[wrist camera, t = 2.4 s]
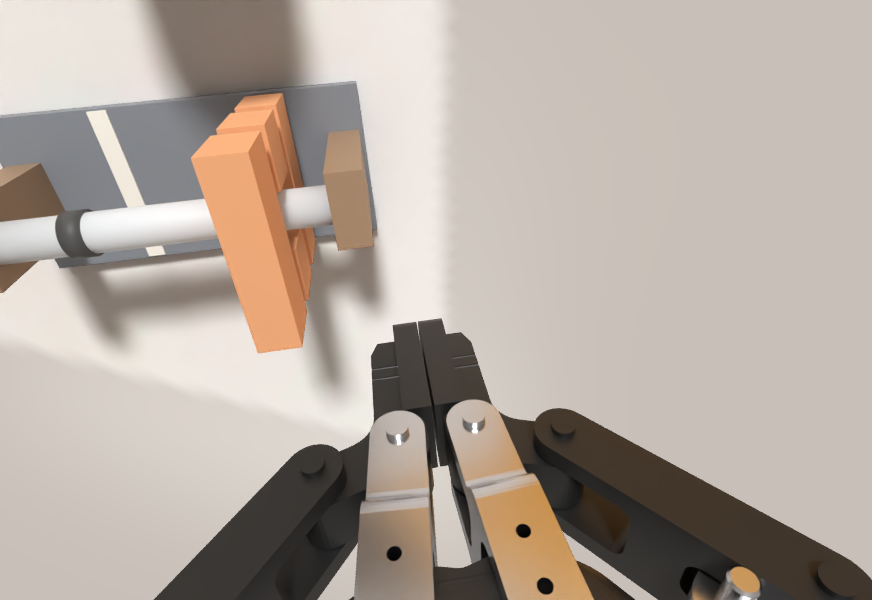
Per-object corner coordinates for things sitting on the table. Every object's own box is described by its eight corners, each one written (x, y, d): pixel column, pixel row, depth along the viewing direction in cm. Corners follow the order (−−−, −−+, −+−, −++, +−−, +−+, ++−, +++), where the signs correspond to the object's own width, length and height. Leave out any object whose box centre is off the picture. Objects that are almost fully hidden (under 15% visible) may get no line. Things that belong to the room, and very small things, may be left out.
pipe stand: (65, 262, 32) (-12, 339, 25) (-15, 116, 27) (-139, 164, 20) (376, 224, 33) (383, 287, 27) (355, 81, 28) (358, 113, 22)
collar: (284, 245, 32) (257, 353, 22) (245, 96, 27) (190, 157, 18) (315, 241, 32) (302, 347, 23) (282, 92, 27) (248, 151, 18)
